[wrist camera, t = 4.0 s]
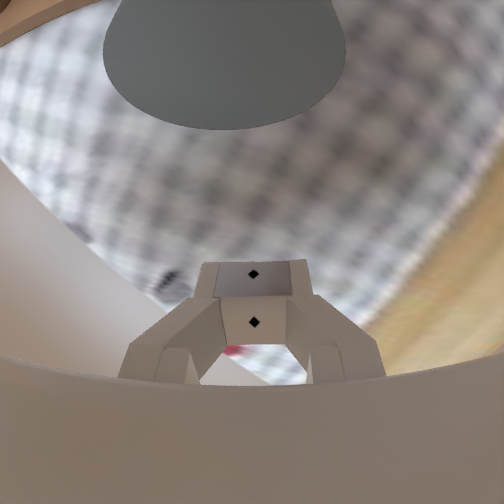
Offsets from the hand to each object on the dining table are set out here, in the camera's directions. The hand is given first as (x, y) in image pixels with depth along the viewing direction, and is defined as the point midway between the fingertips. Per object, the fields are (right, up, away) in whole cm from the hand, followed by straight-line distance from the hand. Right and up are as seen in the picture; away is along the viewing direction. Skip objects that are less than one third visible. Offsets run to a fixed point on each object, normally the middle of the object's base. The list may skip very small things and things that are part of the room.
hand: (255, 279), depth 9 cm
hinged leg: (-1, +15, -3) cm, 16 cm away
